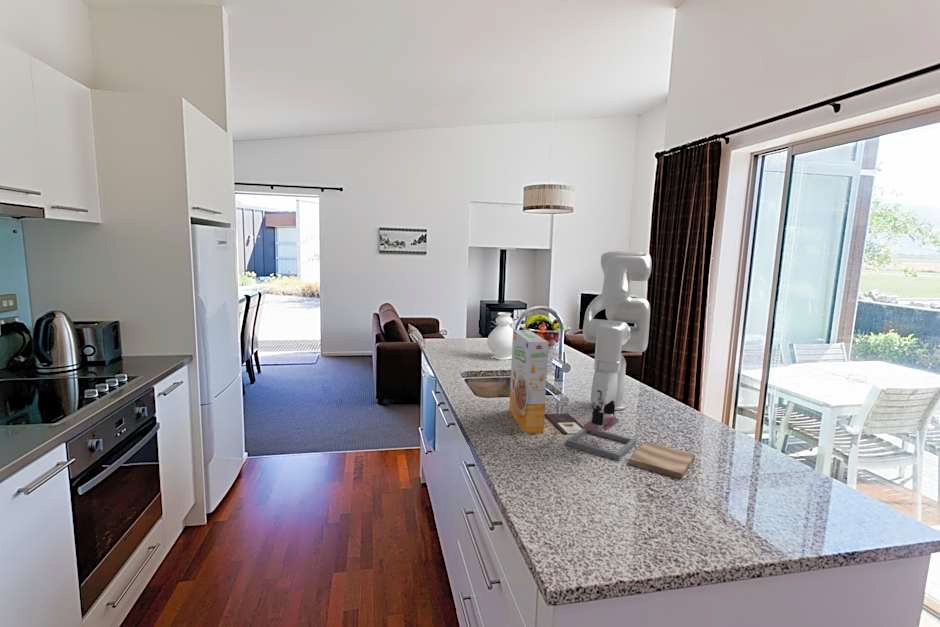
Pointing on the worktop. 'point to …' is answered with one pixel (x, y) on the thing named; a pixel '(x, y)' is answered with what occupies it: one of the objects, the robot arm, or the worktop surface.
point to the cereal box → (528, 380)
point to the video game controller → (607, 423)
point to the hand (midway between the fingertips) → (603, 419)
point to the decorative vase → (501, 337)
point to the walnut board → (662, 459)
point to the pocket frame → (596, 450)
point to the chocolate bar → (564, 423)
